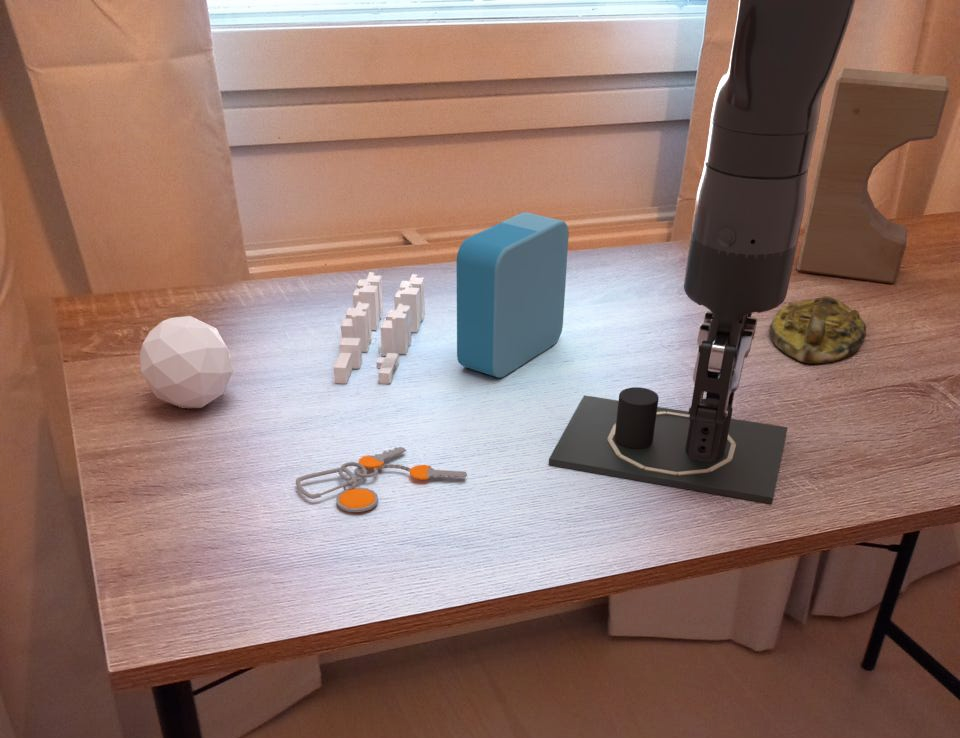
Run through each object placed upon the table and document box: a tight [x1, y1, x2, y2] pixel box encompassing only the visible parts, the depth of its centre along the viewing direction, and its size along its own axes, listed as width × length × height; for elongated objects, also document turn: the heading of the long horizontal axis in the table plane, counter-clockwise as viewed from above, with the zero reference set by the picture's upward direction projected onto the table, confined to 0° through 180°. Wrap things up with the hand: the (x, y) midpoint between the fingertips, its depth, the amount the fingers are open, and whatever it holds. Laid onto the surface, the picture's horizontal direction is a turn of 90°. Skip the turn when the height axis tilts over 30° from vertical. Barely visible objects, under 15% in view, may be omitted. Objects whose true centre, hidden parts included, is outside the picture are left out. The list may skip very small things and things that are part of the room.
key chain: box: [295, 446, 468, 513], centre depth 81 cm, size 13×7×1 cm, turn 119°
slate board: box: [548, 394, 788, 505], centre depth 86 cm, size 18×12×1 cm, turn 72°
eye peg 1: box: [615, 386, 659, 449], centre depth 84 cm, size 3×3×4 cm
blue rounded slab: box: [456, 211, 570, 379], centre depth 96 cm, size 12×4×12 cm, turn 145°
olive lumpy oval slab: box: [769, 295, 867, 365], centre depth 103 cm, size 9×5×15 cm
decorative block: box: [796, 67, 950, 285], centre depth 112 cm, size 11×6×20 cm, turn 69°
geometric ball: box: [138, 315, 234, 409], centre depth 89 cm, size 8×8×8 cm
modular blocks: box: [333, 271, 426, 395], centre depth 99 cm, size 20×7×4 cm, turn 176°
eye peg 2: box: [685, 398, 734, 460], centre depth 83 cm, size 3×3×4 cm
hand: (709, 434), depth 83 cm, fingers open, 8 cm apart
